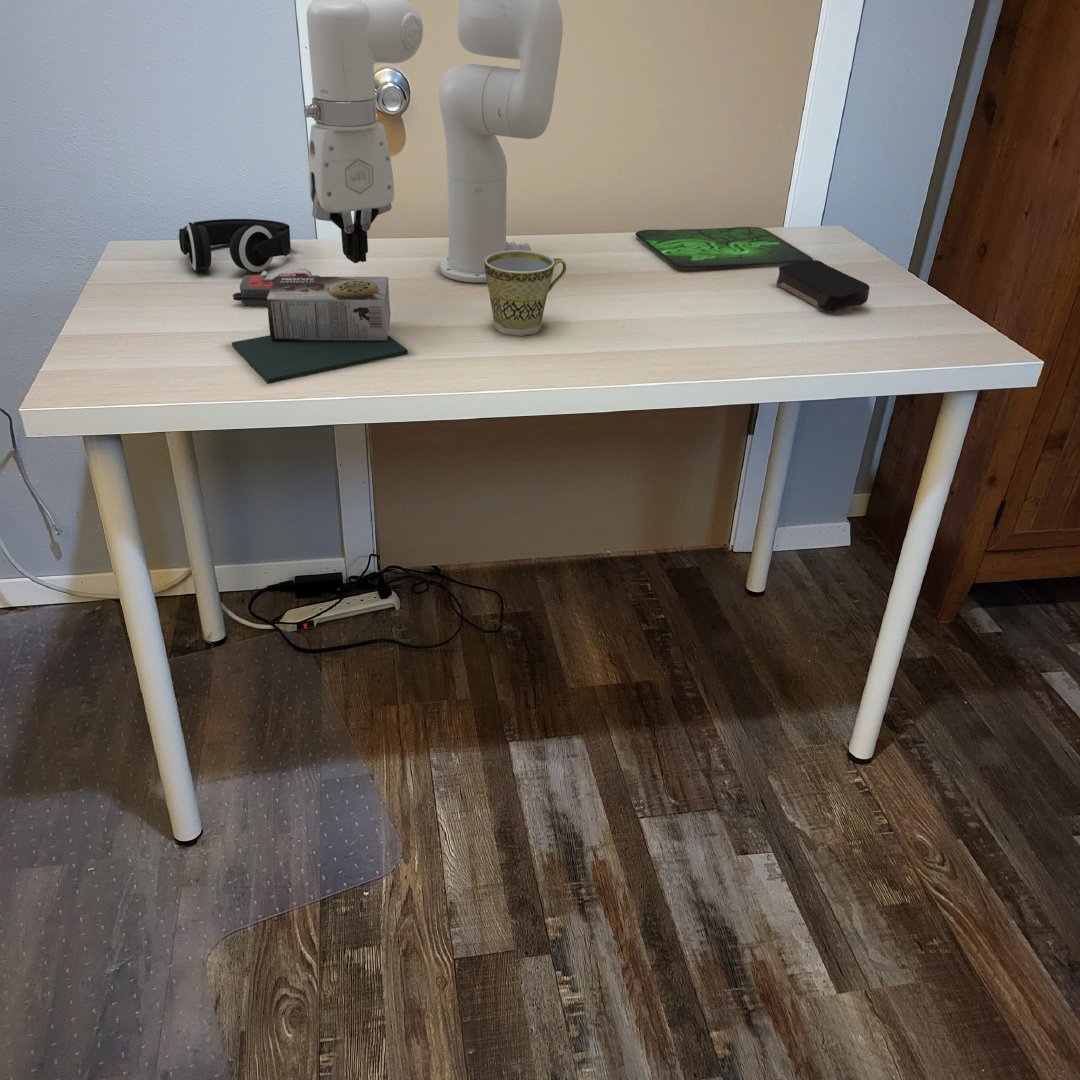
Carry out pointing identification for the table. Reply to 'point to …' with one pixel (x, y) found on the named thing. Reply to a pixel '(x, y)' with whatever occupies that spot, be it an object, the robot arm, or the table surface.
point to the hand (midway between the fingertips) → (356, 259)
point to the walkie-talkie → (263, 286)
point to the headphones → (236, 242)
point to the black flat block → (822, 285)
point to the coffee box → (329, 308)
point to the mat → (311, 355)
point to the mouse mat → (721, 247)
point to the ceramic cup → (519, 289)
